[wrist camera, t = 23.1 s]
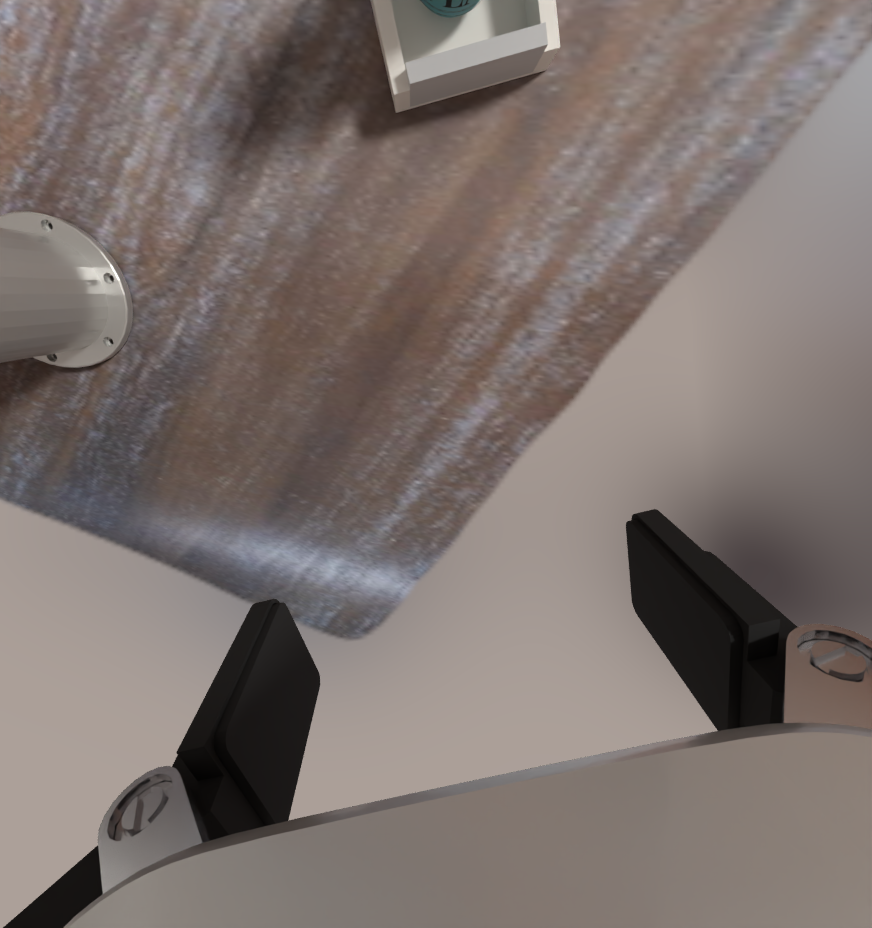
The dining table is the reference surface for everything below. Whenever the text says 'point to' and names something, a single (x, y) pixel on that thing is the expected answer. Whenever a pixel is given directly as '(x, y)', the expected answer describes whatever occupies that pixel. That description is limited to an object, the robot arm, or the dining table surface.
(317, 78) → the dining table surface
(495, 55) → the white divided tray
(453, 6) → the beverage bottle
